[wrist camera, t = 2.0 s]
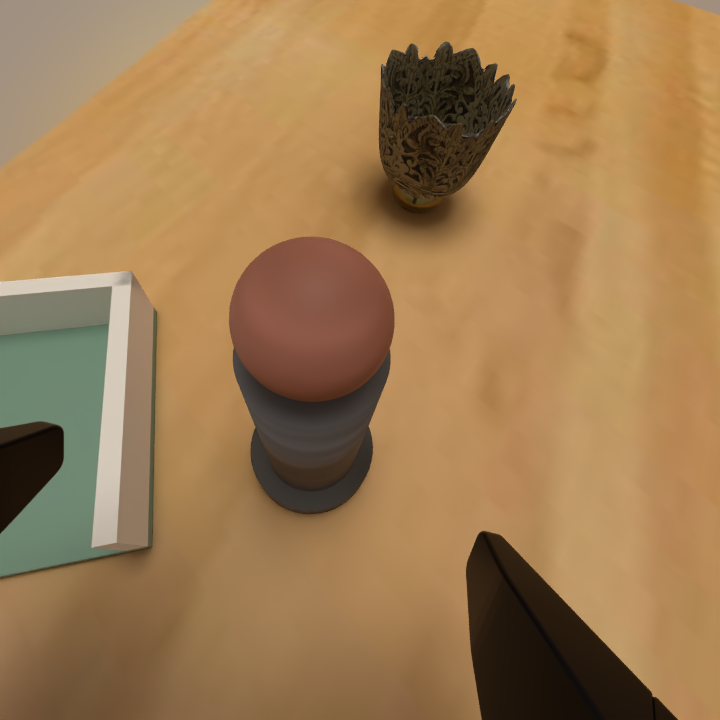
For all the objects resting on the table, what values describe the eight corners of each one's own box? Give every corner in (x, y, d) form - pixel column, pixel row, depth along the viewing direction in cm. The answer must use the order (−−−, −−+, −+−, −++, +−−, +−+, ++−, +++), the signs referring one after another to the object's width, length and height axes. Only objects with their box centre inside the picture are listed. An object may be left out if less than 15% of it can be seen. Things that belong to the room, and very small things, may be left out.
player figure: (333, 537, 18) (378, 476, 6) (231, 475, 19) (79, 305, 7) (387, 434, 20) (499, 238, 8) (295, 382, 21) (273, 133, 9)
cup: (377, 242, 26) (402, 122, 19) (353, 166, 29) (367, 39, 22) (481, 232, 28) (540, 117, 21) (448, 161, 31) (489, 40, 24)
